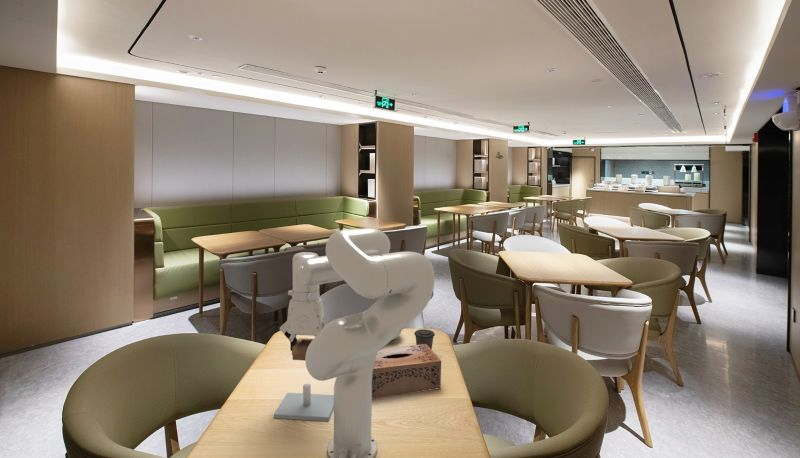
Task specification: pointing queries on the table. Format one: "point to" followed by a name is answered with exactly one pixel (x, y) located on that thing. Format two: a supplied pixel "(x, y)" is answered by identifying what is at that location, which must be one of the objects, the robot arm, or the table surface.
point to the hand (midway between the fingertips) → (306, 353)
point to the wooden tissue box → (300, 348)
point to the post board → (306, 406)
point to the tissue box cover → (405, 370)
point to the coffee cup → (424, 337)
